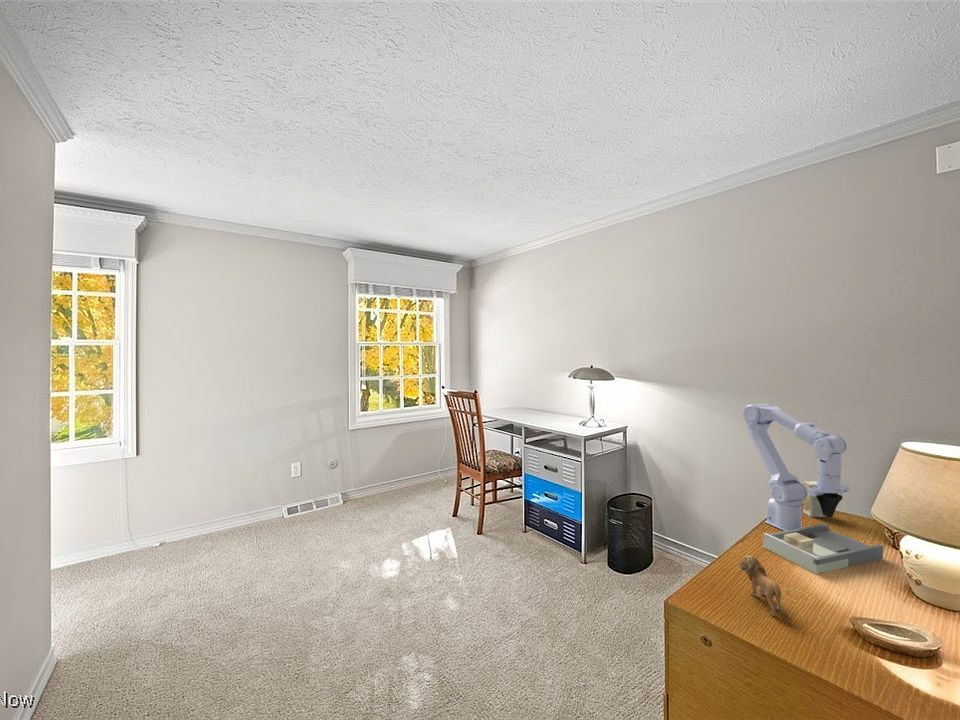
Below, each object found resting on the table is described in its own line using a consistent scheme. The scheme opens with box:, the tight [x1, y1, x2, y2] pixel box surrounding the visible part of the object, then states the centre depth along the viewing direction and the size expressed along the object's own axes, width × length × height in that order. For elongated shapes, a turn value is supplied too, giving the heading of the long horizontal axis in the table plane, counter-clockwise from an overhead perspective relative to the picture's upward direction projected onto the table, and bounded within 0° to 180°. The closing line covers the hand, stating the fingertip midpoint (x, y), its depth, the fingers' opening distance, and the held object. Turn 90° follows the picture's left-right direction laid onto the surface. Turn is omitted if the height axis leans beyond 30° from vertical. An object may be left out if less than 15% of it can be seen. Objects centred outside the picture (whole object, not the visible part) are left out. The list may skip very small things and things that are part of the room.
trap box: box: [762, 523, 884, 575], centre depth 129 cm, size 16×27×4 cm, turn 107°
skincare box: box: [802, 480, 828, 518], centre depth 157 cm, size 6×4×12 cm
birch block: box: [784, 533, 813, 554], centre depth 126 cm, size 5×5×4 cm
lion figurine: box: [737, 554, 790, 620], centre depth 105 cm, size 15×5×9 cm, turn 5°
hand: (827, 515), depth 134 cm, fingers closed
